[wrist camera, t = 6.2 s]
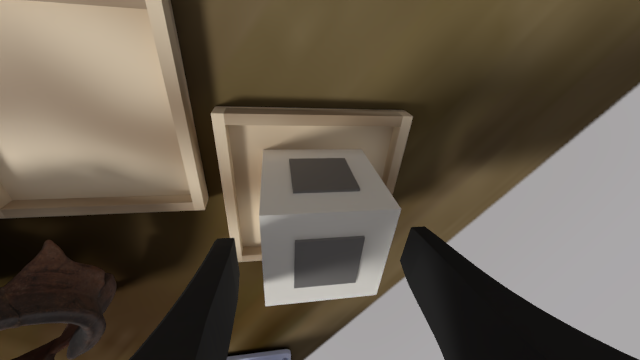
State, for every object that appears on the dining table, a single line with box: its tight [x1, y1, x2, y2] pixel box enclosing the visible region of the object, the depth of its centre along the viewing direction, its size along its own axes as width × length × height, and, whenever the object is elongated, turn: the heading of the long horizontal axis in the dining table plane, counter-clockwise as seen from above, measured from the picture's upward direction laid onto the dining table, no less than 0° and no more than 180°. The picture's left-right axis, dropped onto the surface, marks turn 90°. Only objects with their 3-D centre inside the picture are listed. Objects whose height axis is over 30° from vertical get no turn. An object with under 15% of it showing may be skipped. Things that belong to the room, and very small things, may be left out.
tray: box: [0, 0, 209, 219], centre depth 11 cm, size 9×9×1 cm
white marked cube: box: [259, 149, 401, 306], centre depth 12 cm, size 5×5×5 cm
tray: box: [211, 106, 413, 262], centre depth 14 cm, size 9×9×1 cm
